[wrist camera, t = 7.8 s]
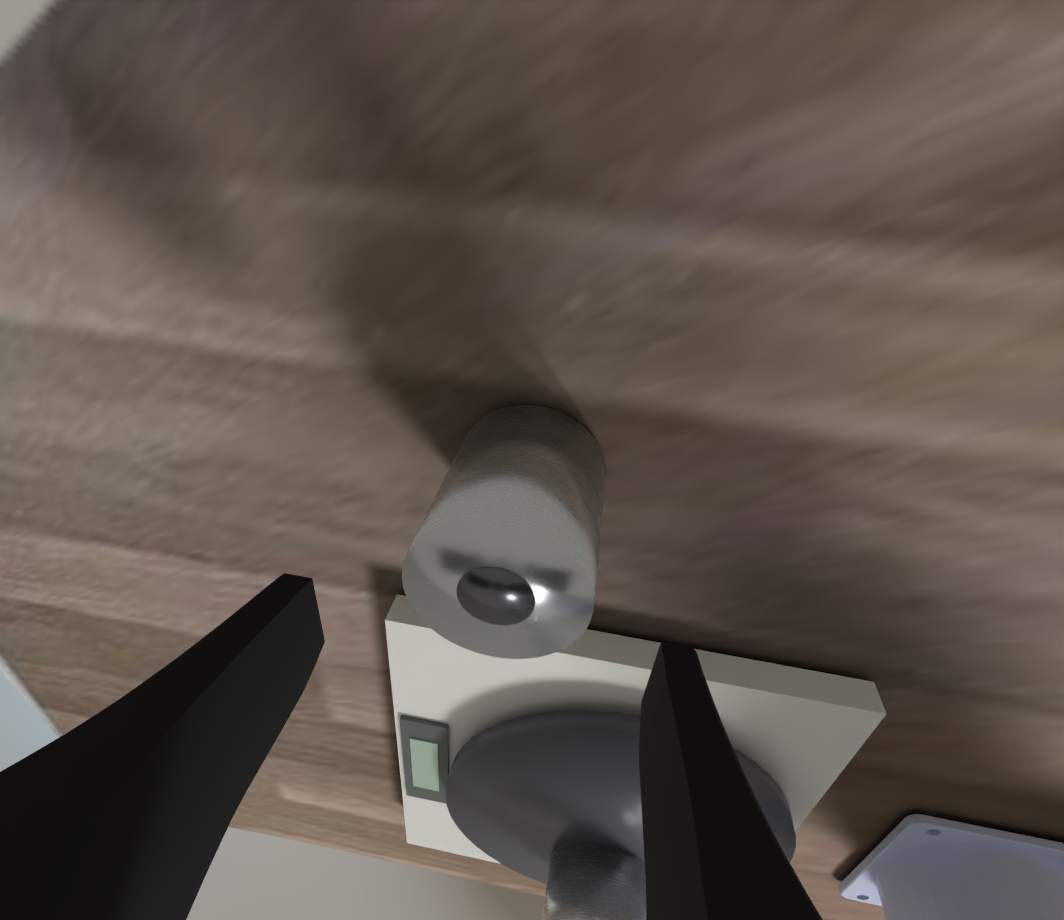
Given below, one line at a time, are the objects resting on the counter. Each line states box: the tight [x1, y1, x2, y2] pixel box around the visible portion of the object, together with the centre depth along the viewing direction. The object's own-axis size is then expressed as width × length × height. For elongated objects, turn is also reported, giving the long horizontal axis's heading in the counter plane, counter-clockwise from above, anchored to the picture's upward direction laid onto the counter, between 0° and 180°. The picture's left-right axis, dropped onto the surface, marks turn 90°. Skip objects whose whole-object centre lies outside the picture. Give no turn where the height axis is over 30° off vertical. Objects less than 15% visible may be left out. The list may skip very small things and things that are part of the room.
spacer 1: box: [402, 405, 606, 659], centre depth 15 cm, size 4×4×5 cm
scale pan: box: [445, 710, 796, 884], centre depth 23 cm, size 14×14×1 cm
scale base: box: [385, 595, 886, 864], centre depth 25 cm, size 17×18×2 cm
